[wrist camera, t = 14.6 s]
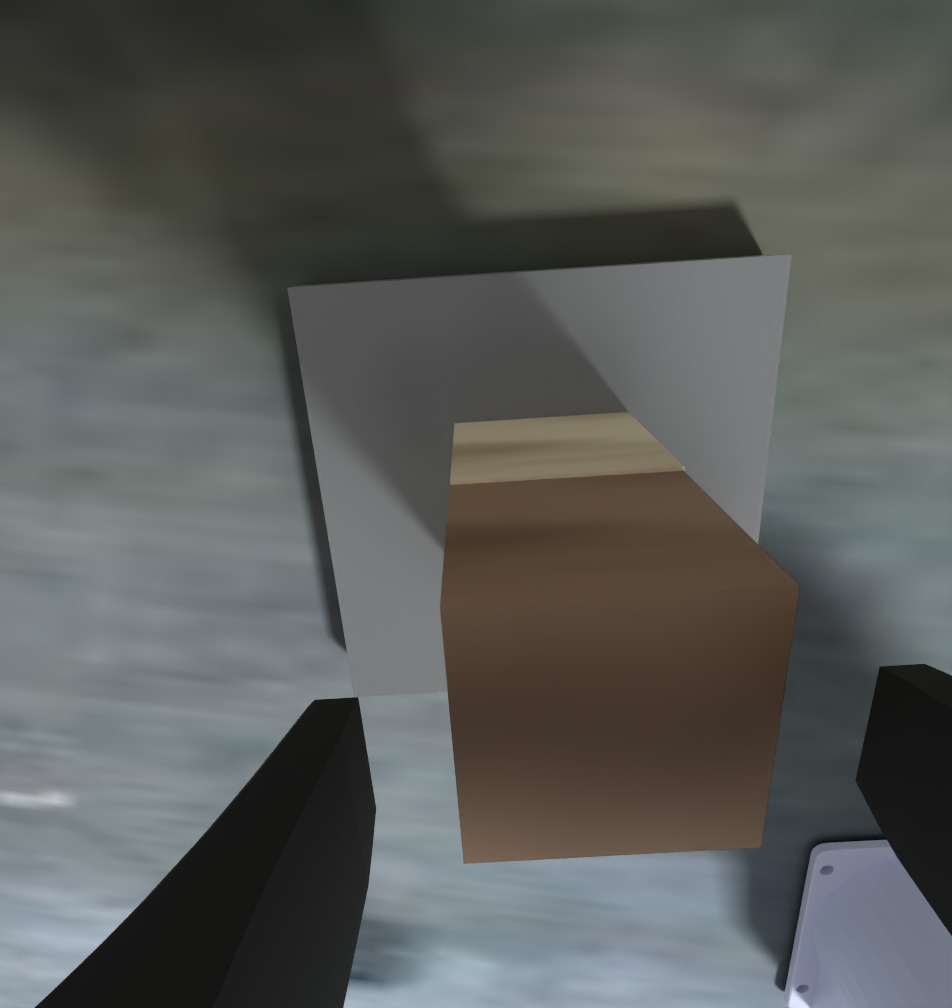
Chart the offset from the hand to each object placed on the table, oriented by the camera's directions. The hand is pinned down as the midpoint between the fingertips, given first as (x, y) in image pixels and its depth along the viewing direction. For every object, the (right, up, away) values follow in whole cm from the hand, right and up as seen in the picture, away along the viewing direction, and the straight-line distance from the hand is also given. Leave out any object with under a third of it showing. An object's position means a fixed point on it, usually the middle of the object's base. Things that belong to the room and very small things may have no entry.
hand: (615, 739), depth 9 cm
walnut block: (0, +2, +4) cm, 4 cm away
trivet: (0, +4, +10) cm, 10 cm away
